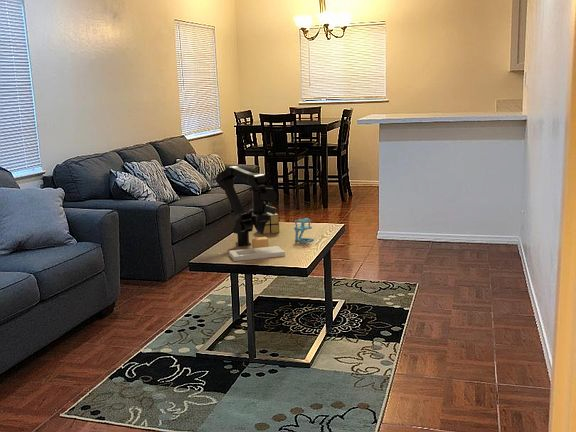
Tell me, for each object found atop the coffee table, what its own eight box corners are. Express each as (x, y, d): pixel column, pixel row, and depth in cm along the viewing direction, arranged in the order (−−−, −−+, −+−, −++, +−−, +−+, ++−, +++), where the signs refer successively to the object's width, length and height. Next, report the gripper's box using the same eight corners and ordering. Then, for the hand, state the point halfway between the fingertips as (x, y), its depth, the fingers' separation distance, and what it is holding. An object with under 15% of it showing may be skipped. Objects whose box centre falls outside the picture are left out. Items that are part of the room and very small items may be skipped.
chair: (301, 238, 328) (300, 215, 326) (314, 240, 323) (313, 217, 320) (292, 241, 322) (291, 218, 320) (305, 243, 317) (304, 219, 315)
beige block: (252, 247, 312) (251, 238, 311) (266, 246, 313) (265, 236, 312) (254, 250, 307) (254, 240, 306) (268, 248, 309) (268, 238, 308)
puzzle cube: (257, 230, 349) (256, 213, 347) (274, 229, 352) (273, 211, 350) (261, 234, 340) (261, 216, 338) (279, 232, 342) (279, 214, 340)
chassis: (229, 254, 299) (228, 250, 298) (278, 249, 305) (277, 245, 305) (234, 261, 287) (234, 256, 287) (285, 255, 294) (284, 251, 294)
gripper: (279, 202, 299) (280, 234, 302) (269, 196, 317) (270, 226, 320) (256, 204, 296) (258, 236, 299) (247, 197, 313) (249, 228, 317)
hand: (259, 232), depth 309 cm, fingers open, 9 cm apart
